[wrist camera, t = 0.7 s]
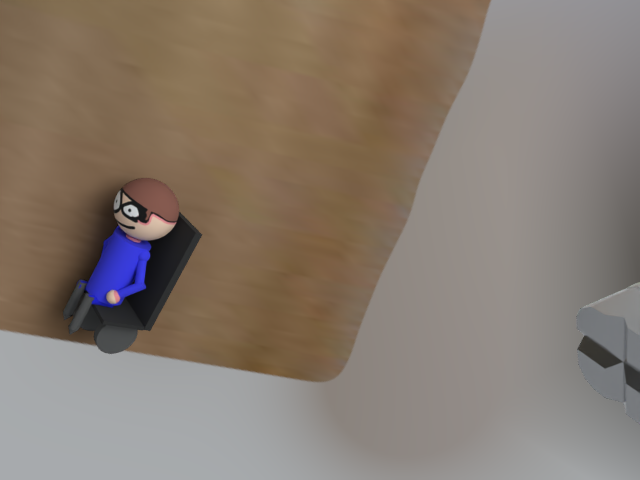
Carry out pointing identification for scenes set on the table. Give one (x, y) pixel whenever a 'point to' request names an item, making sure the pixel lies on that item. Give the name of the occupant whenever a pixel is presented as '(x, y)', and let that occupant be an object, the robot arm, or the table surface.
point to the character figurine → (134, 266)
